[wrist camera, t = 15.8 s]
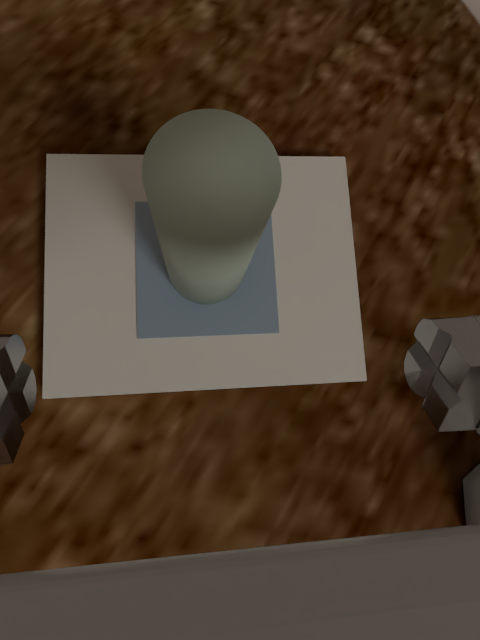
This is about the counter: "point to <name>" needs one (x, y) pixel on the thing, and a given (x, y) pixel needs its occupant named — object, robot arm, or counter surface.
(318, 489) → the counter surface
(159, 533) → the counter surface
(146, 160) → the pale green cylinder
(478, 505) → the flask
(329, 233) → the card
